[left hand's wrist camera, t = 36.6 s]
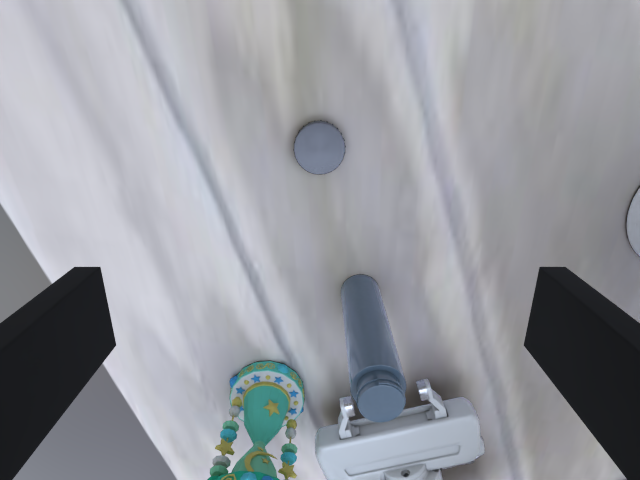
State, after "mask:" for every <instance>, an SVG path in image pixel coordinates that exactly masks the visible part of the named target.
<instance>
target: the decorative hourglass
mask: <svg viewBox="0 0 640 480" xmlns="http://www.w3.org/2000/svg"><path fill="white" fill-rule="evenodd" d="M230 386H231V389H230V402H231V408H230V410H229V414H230V416H232V421H226V422H225V423H224V424H223V429H224V430H223V431H222V432H221V434H220V437H221V438H222V439H221V444H220V445H217V446H216V447H215V449H217V450H219V451H221V453H222V456H216V457H215V458H214V459H213V465H214V466H213V467H212V468H211V469H210V475H211V477H210V478H209V479H207V480H279V479H278V478H277V474H276V470H275V467H274V465H273V463H272V461H271V459H270V457H269V456H271V457H273V458H275V457H274V456H273V455H271V454H268V453H267V452H266V450H265V446H266V445H267V444H268V443H269V442H270V441H271V439H272V438H273V437H274V436H275V435H276V434H277V433H278V432H279V430H280V429H281V427H283V426H285V425H286V426H287V428H288V429H287V430H286V433H285V434H286V437H287V438H288V439H290V442H289V444H285V445H283V446H282V452H283V454H282V455H281V460H282V462H283V463H282V466H283V468H282V469H280V470H279V471H278V472H279V473H281V474H284V476H285V480H288V477H292V478H296V476H297V475H296V474H295V473H294V471H293V467H294V465H292V464H293V463H294V462H295V461H296V459H297V457H296V455H295V453H296V452H297V447H296V446H295V445H294V444H291V439H293V438H294V437H295V436H296V430H295V428H296V426H297V424H296V421H295V419H296V418H297V417H298V416H299V415H300V413H302V412H303V404H304V396H305V395H304V388H303V382H302V381H301V379H300V378H299V376H298V375H297V373H296V372H295V371H293V370H292V369H290V368H289V367H287V366H286V365H284V364H280V363H276V362H272V361H265V362H255V363H253V364H251V365H249V366H247V367H245V368H243V369H242V370H241V371H240V372H239V374H238V375H237V376H234V377H233V378H231V379H230ZM237 416H238V418H239V419H240V420H242V421H243V422H244V425H245V427H246V430H247V432H248V434H249V436H250V438H251V440H252V442H253V444H254V445H253V447H252V448H251V449H250V450H249V451H248V452H247V453H246V454H245V455H244V456H243V457H242V458H241V459H240V460H239V461H238V462H237V463H236V465H235V467H234V468H233V470H232V473H229V474H228V470H227V469H226V468H227V467H229V466H230V462H231V461H230V460H229V459H228V457H226V456H224V455H225V454H226V453H227V454H230V455H233V454H234V451H233V450H232V448H231V445H232V443H233V442H232V441H234V440H235V439H236V438H237V434H236V431H238V429H239V425H238V424H237V423H236V422H234V421H233V419H234V417H237ZM275 459H277V458H275ZM289 465H291V466H289Z"/></svg>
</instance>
